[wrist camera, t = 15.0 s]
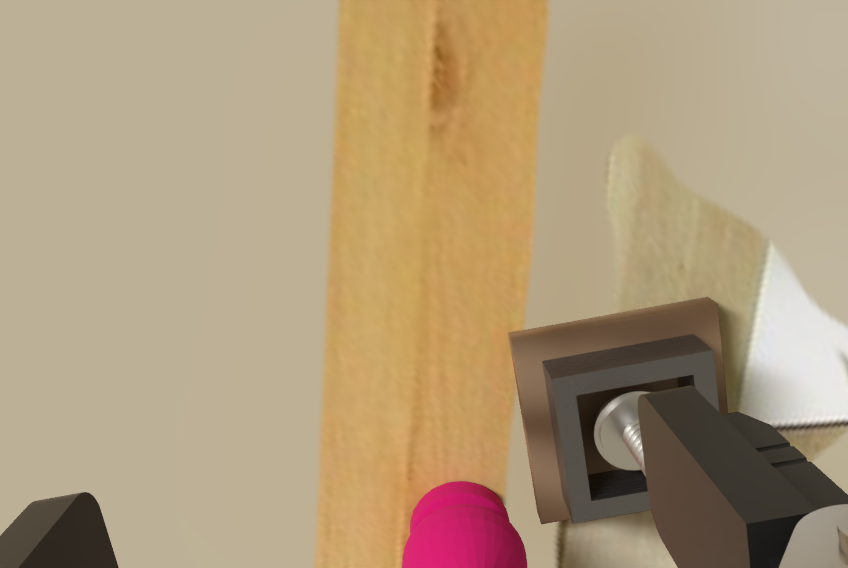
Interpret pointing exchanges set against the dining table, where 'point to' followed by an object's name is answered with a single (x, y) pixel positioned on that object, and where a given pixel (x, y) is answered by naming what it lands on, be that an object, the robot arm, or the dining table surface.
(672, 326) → the walnut board
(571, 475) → the socket
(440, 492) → the pepper mill
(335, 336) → the dining table surface
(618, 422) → the screw
